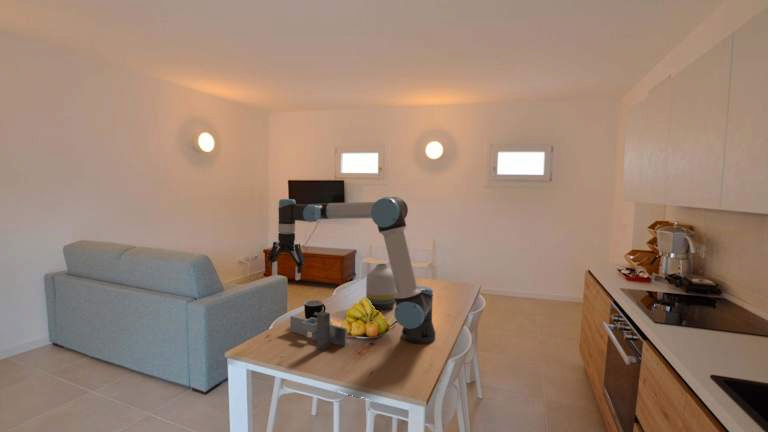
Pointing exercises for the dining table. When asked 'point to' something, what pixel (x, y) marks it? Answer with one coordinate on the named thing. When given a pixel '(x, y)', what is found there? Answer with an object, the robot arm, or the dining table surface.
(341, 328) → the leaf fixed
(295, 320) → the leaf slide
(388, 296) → the vase
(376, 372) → the dining table surface
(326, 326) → the pin
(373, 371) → the dining table surface
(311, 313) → the mug
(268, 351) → the dining table surface
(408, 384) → the dining table surface
